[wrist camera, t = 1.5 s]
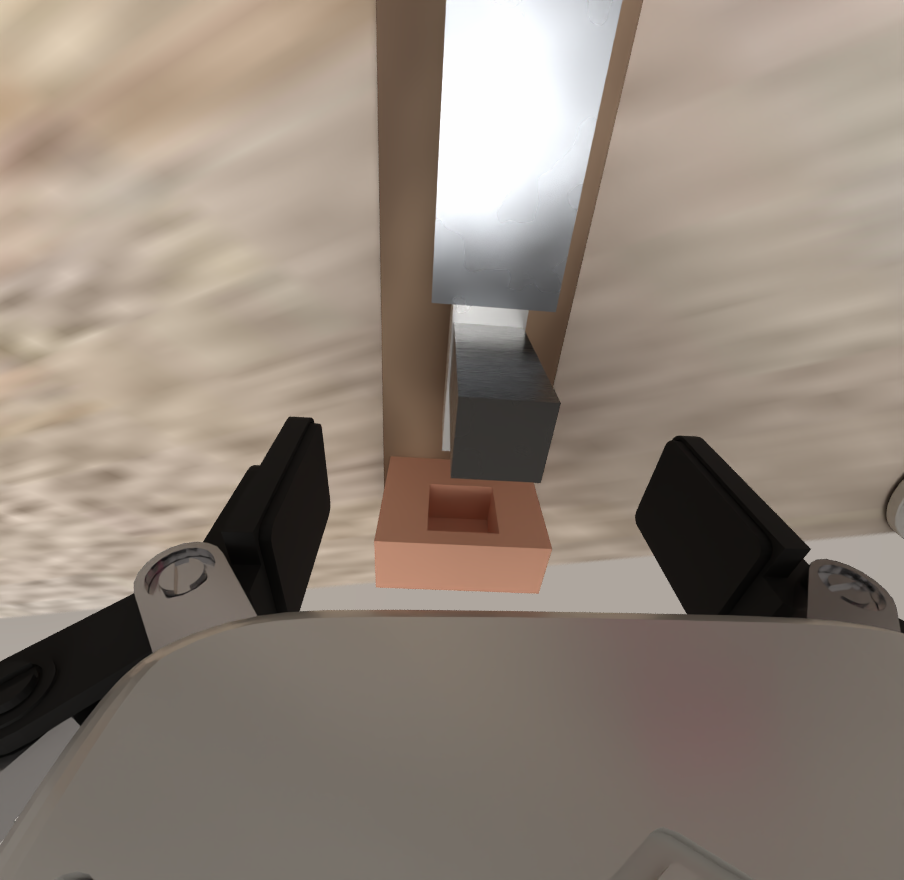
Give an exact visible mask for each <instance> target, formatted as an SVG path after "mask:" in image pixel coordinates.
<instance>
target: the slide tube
mask: <svg viewBox="0 0 904 880" xmlns="http://www.w3.org/2000/svg"><path fill="white" fill-rule="evenodd" d="M528 312H529V310H520V309H506V308H493V307H480V306H467V305H453V304H451V311H450V324H449V338H448V351H447V364H446V378H445V391H444V405H443V418H442V451H450V475H451V478H456V479H475V480H494V481H513V482H532V483H541V480H542V476H543V472H544V468H545V464H546V460H547V456H548V452H549V448H550V444H551V440H552V436H553V432H554V428H555V424H556V420H557V416H558V412H559V408H560V404H561V403H560V401H559V399H558V397H557V395H556V393H555V391H554V389H553V387H552V385H551V383H550V381H549V379H548V377H547V375H546V372H545V370H544V368H543V366H542V364H541V362H540V360H539V358H538V356H537V354H536V352H535V350H534V348H533V346H532V344H531V342H530V340H529V338H528V336H527V334H526V332H525V329H526V323H527V317H528Z"/></svg>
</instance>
